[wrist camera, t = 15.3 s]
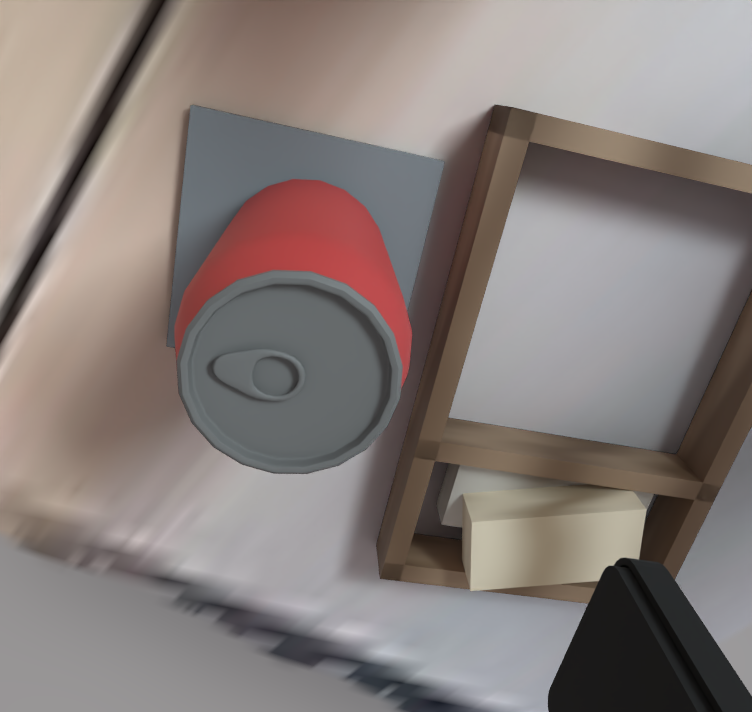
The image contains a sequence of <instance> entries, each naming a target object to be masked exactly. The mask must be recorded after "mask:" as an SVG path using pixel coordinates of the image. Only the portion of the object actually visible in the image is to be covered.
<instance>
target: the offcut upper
mask: <svg viewBox="0 0 752 712" xmlns="http://www.w3.org/2000/svg"><path fill="white" fill-rule="evenodd" d="M645 516H646V508H645V506H644V505H643V504H642V502H641V501H640V500H639V498H638V497H637V496H636V494H635V493H634V491H632V490H625V489H619V488H612V487H605V486H599V485H592V484H584V485H570V486H557V487H543V488H529V489H516V490H502V491H489V492H476V493H463V513H462V562H463V566H464V569H465V573H466V577H467V580H468V584H469V588H470V591H478V590H491V589H503V588H516V587H529V586H541V585H554V584H567V583H579V582H592V581H599V579H600V577H601V575H602V573H603V571H604V570H605V568H606V567H608V566H614V564H615V563H616V561H617V560H619V559H620V558H625V557H626V558H632V559H639V556H640V549H641V542H642V536H643V529H644V523H645Z"/></svg>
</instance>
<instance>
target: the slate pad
mask: <svg viewBox="0 0 752 712" xmlns="http://www.w3.org/2000/svg"><path fill="white" fill-rule="evenodd" d="M444 163H445V162H444V161H442V160H438V159H433V158H429V157H424V156H420V155H415V154H411V153H406V152H402V151H397V150H393V149H388V148H384V147H379V146H375V145H370V144H366V143H361V142H357V141H353V140H348V139H344V138H339V137H335V136H330V135H326V134H321V133H317V132H312V131H308V130H303V129H299V128H294V127H290V126H285V125H281V124H277V123H272V122H268V121H263V120H259V119H254V118H250V117H245V116H241V115H236V114H232V113H227V112H223V111H218V110H214V109H209V108H205V107H200V106H196V105H191V107H190V117H189V127H188V137H187V147H186V157H185V166H184V176H183V186H182V196H181V206H180V216H179V226H178V236H177V246H176V256H175V266H174V276H173V285H172V295H171V305H170V315H169V325H168V335H167V345H166V346H167V347H173V348H175V322H176V318H177V315H178V312H179V308H180V305H181V301H182V298H183V294H184V291H185V290H186V288H187V287H188V285H189V284H190V282H191V281H192V279H193V278H194V276H195V275H196V273H197V272H198V270H199V269H200V267H201V266H202V264H203V263H204V261H205V260H206V258H207V257H208V255H209V254H210V252H211V251H212V249H213V248H214V246H215V245H216V243H217V242H218V240H219V239H220V237H221V236H222V234H223V233H224V231H225V230H226V228H227V227H228V225H229V224H230V222H231V221H232V220H233V218H234V217H235V216H236V214H237V213H238V211H239V210H240V209H241V207H242V206H243V205H244V203H245V202H246V201H247V200H248V199H250V198H251V197H253V196H254V195H255V194H257V193H258V192H260V191H261V190H263V189H264V188H266V187H267V186H270V185H273V184H277V183H280V182H284V181H288V180H291V179H305V180H320V181H323V182H326V183H328V184H331V185H333V186H336V187H339V188H341V189H344V190H346V191H347V192H348V193H349V194H350V195H352V196H353V197H354V198H355V199H357V200H358V201H359V202H360V203H361V204H363V205H364V206H365V207H366V209H367V210H368V212H369V213H370V215H371V216H372V218H373V219H374V221H375V223H376V224H377V226H378V227H379V229H380V232H381V235H382V238H383V241H384V244H385V247H386V249H387V252H388V255H389V258H390V261H391V264H392V267H393V269H394V272H395V275H396V278H397V281H398V284H399V287H400V289H401V292H402V295H403V298H404V302H405V306H406V309H407V311H408V307H409V303H410V299H411V295H412V291H413V287H414V283H415V279H416V275H417V271H418V267H419V263H420V259H421V255H422V251H423V247H424V243H425V239H426V235H427V231H428V227H429V223H430V219H431V215H432V211H433V207H434V203H435V199H436V195H437V191H438V187H439V183H440V179H441V175H442V171H443V167H444Z"/></svg>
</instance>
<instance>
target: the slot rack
mask: <svg viewBox="0 0 752 712" xmlns="http://www.w3.org/2000/svg"><path fill="white" fill-rule="evenodd" d="M529 142H533V143H537V144H542V145H546V146H550V147H554V148H559V149H563V150H567V151H572V152H576V153H580V154H584V155H589V156H593V157H597V158H602V159H606V160H610V161H614V162H619V163H623V164H627V165H632V166H636V167H640V168H644V169H649V170H653V171H657V172H662V173H666V174H670V175H674V176H679V177H683V178H687V179H692V180H696V181H700V182H704V183H709V184H713V185H717V186H722V187H726V188H730V189H734V190H739V191H743V192H747V193H752V165H750V164H746V163H742V162H738V161H733V160H729V159H725V158H721V157H717V156H713V155H708V154H704V153H700V152H696V151H692V150H688V149H684V148H679V147H675V146H671V145H667V144H663V143H659V142H655V141H650V140H646V139H642V138H638V137H634V136H630V135H625V134H621V133H617V132H613V131H609V130H605V129H601V128H596V127H592V126H588V125H584V124H580V123H576V122H571V121H567V120H563V119H559V118H555V117H551V116H547V115H542V114H538V113H534V112H530V111H526V110H522V109H517V108H513V107H508V106H501V105H495V106H494V110H493V113H492V117H491V121H490V124H489V128H488V132H487V135H486V139H485V143H484V147H483V150H482V154H481V158H480V161H479V165H478V169H477V173H476V176H475V180H474V184H473V187H472V191H471V195H470V199H469V202H468V206H467V210H466V213H465V217H464V221H463V225H462V228H461V232H460V236H459V239H458V243H457V247H456V251H455V254H454V258H453V262H452V265H451V269H450V273H449V277H448V280H447V284H446V288H445V291H444V295H443V299H442V303H441V306H440V310H439V314H438V317H437V321H436V325H435V328H434V332H433V336H432V340H431V343H430V347H429V351H428V354H427V358H426V362H425V366H424V369H423V373H422V377H421V380H420V384H419V388H418V392H417V395H416V399H415V403H414V406H413V410H412V414H411V418H410V421H409V425H408V429H407V432H406V436H405V440H404V444H403V447H402V451H401V455H400V458H399V462H398V466H397V470H396V473H395V477H394V481H393V484H392V488H391V492H390V496H389V499H388V503H387V507H386V510H385V514H384V518H383V521H382V525H381V529H380V533H379V536H378V540H377V544H376V547H377V556H378V565H379V574H380V579H387V580H395V581H404V582H412V583H421V584H429V585H437V586H446V587H454V588H463V589H470V588H469V584H468V580H467V577H466V573H465V569H464V566H463V562H462V540H458V539H450V538H442V537H435V536H427V535H419V534H414V531H415V528H416V524H417V521H418V518H419V514H420V511H421V507H422V504H423V501H424V497H425V494H426V491H427V487H428V484H429V480H430V477H431V474H432V470H433V467H434V463H435V461H438V462H445V463H452V464H458V465H465V466H472V467H478V468H485V469H492V470H498V471H505V472H512V473H518V474H525V475H532V476H538V477H545V478H552V479H559V480H565V481H572V482H579V483H585V484H592V485H599V486H605V487H612V488H619V489H625V490H632V491H639V492H646V493H652V494H658V496H657V498H656V500H655V502H654V505H653V507H652V509H651V511H650V513H649V515H648V518H647V520H646V522H645V524H644V529H643V536H642V542H641V549H640V556H639V560H646V561H653V562H659V563H661V564H663V565H664V566H665V567H666V568H667V570H668V571H669V572H670V574H671V576H672V577H673V579H674V580H675V578H676V576H677V574H678V572H679V570H680V568H681V566H682V564H683V562H684V560H685V558H686V556H687V554H688V552H689V550H690V548H691V546H692V544H693V542H694V540H695V538H696V536H697V534H698V532H699V530H700V528H701V526H702V524H703V522H704V520H705V518H706V516H707V514H708V512H709V510H710V508H711V506H712V504H713V502H714V500H715V498H716V496H717V494H718V492H719V490H720V488H721V486H722V484H723V482H724V480H725V478H726V476H727V474H728V472H729V470H730V468H731V466H732V464H733V462H734V460H735V458H736V456H737V454H738V452H739V450H740V448H741V446H742V444H743V442H744V440H745V438H746V436H747V434H748V432H749V430H750V428H751V426H752V291H751V293H750V296H749V298H748V300H747V302H746V304H745V306H744V309H743V311H742V313H741V315H740V317H739V319H738V322H737V324H736V326H735V328H734V330H733V333H732V335H731V337H730V339H729V341H728V343H727V346H726V348H725V350H724V352H723V354H722V356H721V359H720V361H719V363H718V365H717V367H716V370H715V372H714V374H713V376H712V378H711V380H710V383H709V385H708V387H707V389H706V391H705V394H704V396H703V398H702V400H701V402H700V404H699V407H698V409H697V411H696V413H695V415H694V417H693V420H692V422H691V424H690V426H689V428H688V431H687V433H686V435H685V437H684V439H683V441H682V444H681V446H680V448H679V450H678V452H677V454H671V453H665V452H658V451H652V450H646V449H640V448H633V447H627V446H621V445H615V444H609V443H602V442H596V441H590V440H584V439H577V438H571V437H565V436H559V435H552V434H546V433H540V432H534V431H528V430H521V429H515V428H509V427H503V426H496V425H490V424H484V423H478V422H472V421H465V420H459V419H453V418H448V416H449V412H450V409H451V406H452V402H453V399H454V395H455V392H456V389H457V385H458V382H459V378H460V375H461V372H462V368H463V365H464V362H465V358H466V355H467V351H468V348H469V345H470V341H471V338H472V334H473V331H474V328H475V324H476V321H477V317H478V314H479V311H480V307H481V304H482V300H483V297H484V294H485V290H486V287H487V283H488V280H489V277H490V273H491V270H492V266H493V263H494V260H495V256H496V253H497V249H498V246H499V243H500V239H501V236H502V233H503V229H504V226H505V222H506V219H507V216H508V212H509V209H510V205H511V202H512V199H513V195H514V192H515V188H516V185H517V182H518V178H519V175H520V171H521V168H522V165H523V161H524V158H525V154H526V151H527V148H528V144H529ZM598 582H599V581H592V582H579V583H567V584H554V585H541V586H529V587H516V588H503V589H491V590H479V591H488V592H496V593H505V594H513V595H521V596H530V597H538V598H547V599H555V600H563V601H572V602H580V603H589V601H590V599H591V597H592V595H593V593H594V590H595V588H596V586H597V584H598Z"/></svg>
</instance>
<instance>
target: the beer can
mask: <svg viewBox="0 0 752 712" xmlns="http://www.w3.org/2000/svg"><path fill="white" fill-rule="evenodd" d="M411 343H412V329H411V325H410V321H409V317H408V313H407V309H406V306H405V302H404V298H403V295H402V292H401V289H400V287H399V284H398V281H397V278H396V275H395V272H394V269H393V267H392V264H391V261H390V258H389V255H388V252H387V249H386V247H385V244H384V241H383V238H382V235H381V232H380V229H379V227H378V226H377V224H376V223H375V221H374V219H373V218H372V216H371V215H370V213H369V212H368V210H367V209H366V207H365V206H364V205H363V204H361V203H360V202H359V201H358V200H357V199H355V198H354V197H353V196H352V195H350V194H349V193H348V192H347V191H346V190H344V189H341V188H339V187H336V186H333V185H331V184H328V183H326V182H323V181H320V180H305V179H291V180H288V181H284V182H280V183H277V184H273V185H270V186H267V187H266V188H264V189H263V190H261V191H260V192H258V193H257V194H255V195H254V196H253V197H251V198H250V199H248V200H247V201H246V202H245V203H244V205H243V206H242V207H241V209H240V210H239V211H238V213H237V214H236V216H235V217H234V218H233V220H232V221H231V222H230V224H229V225H228V227H227V228H226V230H225V231H224V233H223V234H222V236H221V237H220V239H219V240H218V242H217V243H216V245H215V246H214V248H213V249H212V251H211V252H210V254H209V255H208V257H207V258H206V260H205V261H204V263H203V264H202V266H201V267H200V269H199V270H198V272H197V273H196V275H195V276H194V278H193V279H192V281H191V282H190V284H189V285H188V287H187V288H186V290H185V291H184V294H183V298H182V301H181V305H180V308H179V312H178V315H177V318H176V322H175V350H176V364H177V376H178V391H179V395H180V397H181V400H182V402H183V404H184V406H185V409H186V411H187V413H188V416H189V418H190V420H191V422H192V424H193V425H194V426H195V427H196V428H197V429H198V430H199V432H200V433H201V434H202V435H203V436H204V437H205V438H206V439H207V440H208V442H209V443H210V444H211V445H212V446H213V447H214V448H216V449H217V450H219V451H221V452H222V453H224V454H226V455H227V456H229V457H230V458H232V459H234V460H235V461H237V462H239V463H240V464H242V465H246V466H249V467H253V468H256V469H260V470H263V471H267V472H270V473H278V474H308V473H312V472H316V471H320V470H324V469H327V468H331V467H335V466H339V465H340V464H342V463H344V462H346V461H347V460H349V459H351V458H352V457H354V456H356V455H357V454H359V453H361V452H362V451H364V450H366V449H367V448H368V447H369V446H370V445H371V444H372V442H373V441H374V440H375V439H376V438H377V437H378V436H379V435H380V434H381V433H382V432H383V430H384V429H385V428H386V427H387V426H388V424H389V422H390V419H391V417H392V415H393V413H394V410H395V408H396V406H397V404H398V402H399V399H400V394H401V388H402V386H403V384H404V382H405V379H406V377H407V374H408V370H409V365H410V354H411Z"/></svg>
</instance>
